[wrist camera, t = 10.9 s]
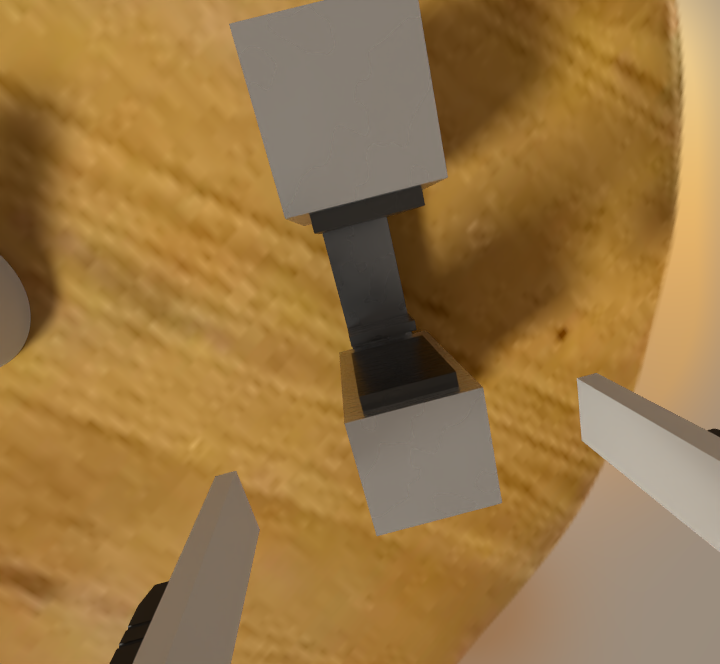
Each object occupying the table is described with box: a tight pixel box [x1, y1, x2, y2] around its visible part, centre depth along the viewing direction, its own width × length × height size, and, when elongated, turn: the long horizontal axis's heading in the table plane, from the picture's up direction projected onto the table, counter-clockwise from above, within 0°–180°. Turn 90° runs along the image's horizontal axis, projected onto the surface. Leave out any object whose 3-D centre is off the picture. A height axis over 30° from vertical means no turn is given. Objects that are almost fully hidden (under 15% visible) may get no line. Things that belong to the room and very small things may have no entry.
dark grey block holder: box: [229, 0, 448, 349], centre depth 17 cm, size 20×5×10 cm, turn 14°
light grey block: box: [339, 330, 502, 536], centre depth 17 cm, size 6×5×8 cm
